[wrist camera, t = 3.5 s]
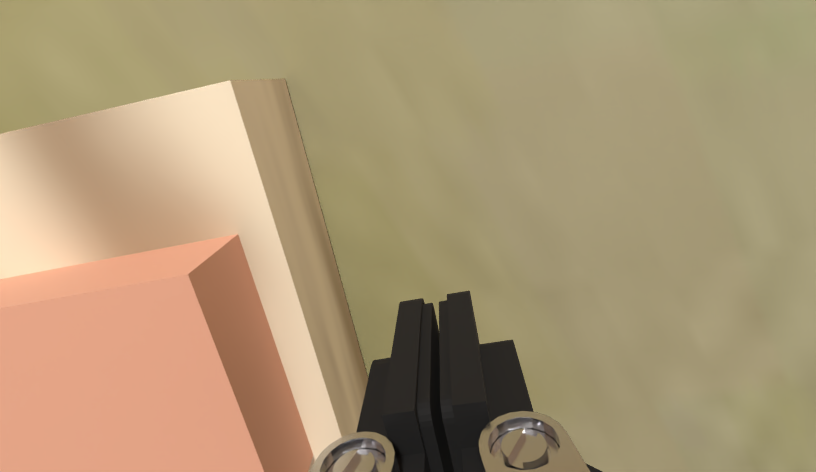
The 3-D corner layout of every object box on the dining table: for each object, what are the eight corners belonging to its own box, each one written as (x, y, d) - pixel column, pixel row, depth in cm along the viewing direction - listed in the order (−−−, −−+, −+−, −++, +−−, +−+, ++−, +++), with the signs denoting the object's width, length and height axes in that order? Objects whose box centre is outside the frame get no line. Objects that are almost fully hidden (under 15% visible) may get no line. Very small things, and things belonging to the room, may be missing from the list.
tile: (238, 233, 12) (188, 274, 9) (313, 454, 14) (287, 533, 12) (-102, 298, 13) (-222, 348, 11) (15, 492, 15) (-62, 569, 13)
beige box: (284, 78, 14) (230, 80, 11) (386, 444, 19) (373, 538, 15) (-248, 200, 17) (-447, 237, 13) (-49, 499, 21) (-155, 592, 17)
